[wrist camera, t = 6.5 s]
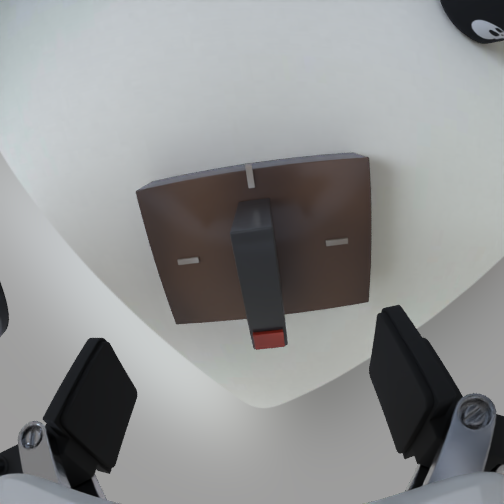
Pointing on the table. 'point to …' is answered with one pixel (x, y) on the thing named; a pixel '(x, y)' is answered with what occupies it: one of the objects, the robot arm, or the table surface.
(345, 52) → the table surface
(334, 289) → the panel
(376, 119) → the table surface
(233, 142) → the table surface
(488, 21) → the beverage can
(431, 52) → the table surface
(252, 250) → the red-tipped grey block
